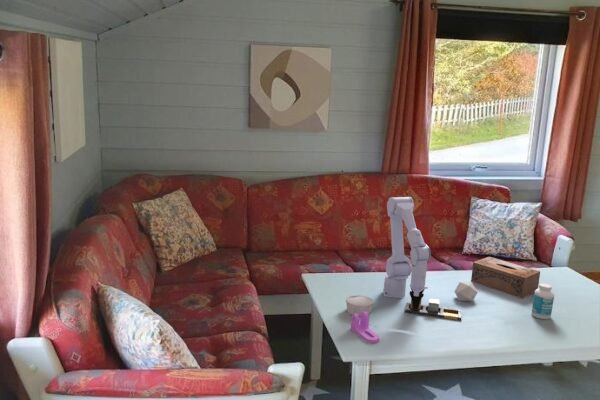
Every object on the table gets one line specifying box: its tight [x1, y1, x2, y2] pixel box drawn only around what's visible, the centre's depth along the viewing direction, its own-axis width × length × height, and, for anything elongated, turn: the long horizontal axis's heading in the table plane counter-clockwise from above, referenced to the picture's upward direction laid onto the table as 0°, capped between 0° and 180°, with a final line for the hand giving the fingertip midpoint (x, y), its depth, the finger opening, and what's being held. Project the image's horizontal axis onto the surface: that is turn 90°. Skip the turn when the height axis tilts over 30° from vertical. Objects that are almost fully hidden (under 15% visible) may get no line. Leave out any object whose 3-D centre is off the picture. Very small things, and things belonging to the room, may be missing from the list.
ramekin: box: [345, 294, 374, 317], centre depth 222 cm, size 11×11×5 cm
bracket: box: [349, 312, 381, 344], centre depth 202 cm, size 13×6×7 cm, turn 26°
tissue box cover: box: [470, 256, 541, 299], centre depth 257 cm, size 26×14×10 cm, turn 41°
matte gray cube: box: [428, 298, 440, 313], centre depth 223 cm, size 4×4×5 cm
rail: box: [404, 302, 462, 322], centre depth 223 cm, size 22×8×2 cm, turn 75°
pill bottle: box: [531, 282, 555, 320], centre depth 224 cm, size 8×7×14 cm
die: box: [454, 281, 478, 302], centre depth 238 cm, size 8×9×10 cm
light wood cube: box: [410, 298, 423, 311], centre depth 224 cm, size 4×4×5 cm
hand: (415, 306), depth 224 cm, fingers closed on light wood cube, 4 cm apart
